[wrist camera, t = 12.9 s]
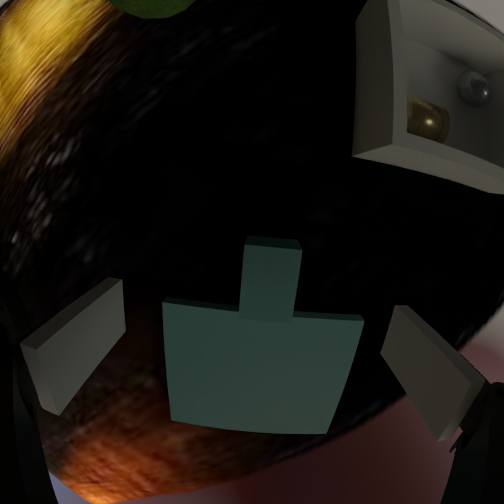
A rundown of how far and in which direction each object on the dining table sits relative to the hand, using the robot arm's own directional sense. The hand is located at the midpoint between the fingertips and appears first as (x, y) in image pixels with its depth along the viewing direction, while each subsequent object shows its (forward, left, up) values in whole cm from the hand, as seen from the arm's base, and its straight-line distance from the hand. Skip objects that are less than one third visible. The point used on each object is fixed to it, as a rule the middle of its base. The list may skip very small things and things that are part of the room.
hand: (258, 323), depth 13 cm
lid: (+1, -6, -9) cm, 11 cm away
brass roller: (+10, +13, -8) cm, 18 cm away
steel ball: (+16, +17, -9) cm, 25 cm away
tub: (+13, +15, -9) cm, 21 cm away
